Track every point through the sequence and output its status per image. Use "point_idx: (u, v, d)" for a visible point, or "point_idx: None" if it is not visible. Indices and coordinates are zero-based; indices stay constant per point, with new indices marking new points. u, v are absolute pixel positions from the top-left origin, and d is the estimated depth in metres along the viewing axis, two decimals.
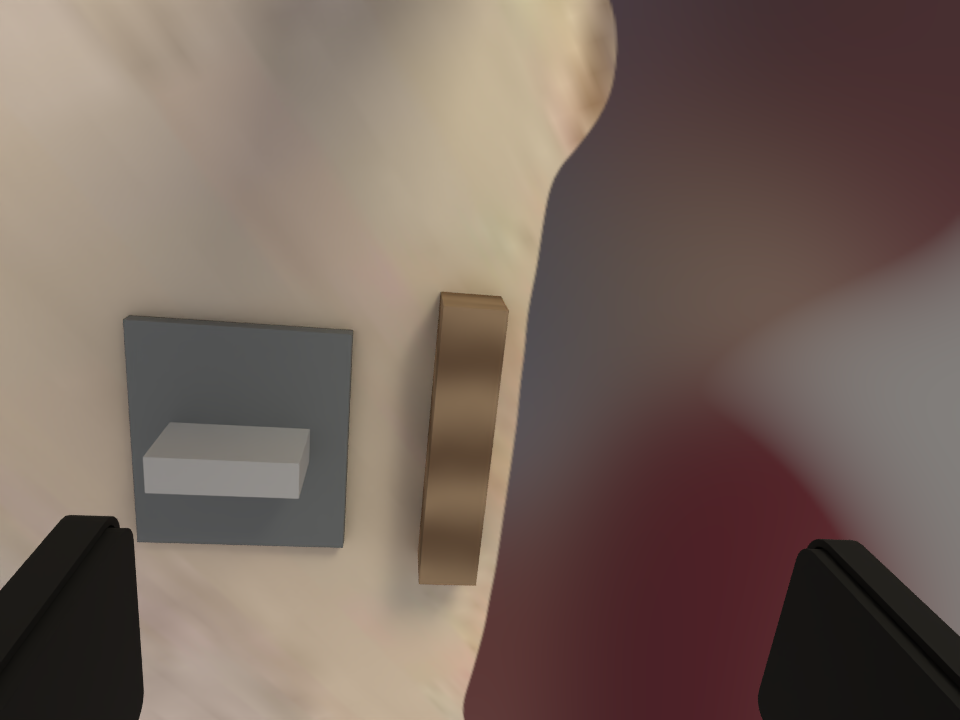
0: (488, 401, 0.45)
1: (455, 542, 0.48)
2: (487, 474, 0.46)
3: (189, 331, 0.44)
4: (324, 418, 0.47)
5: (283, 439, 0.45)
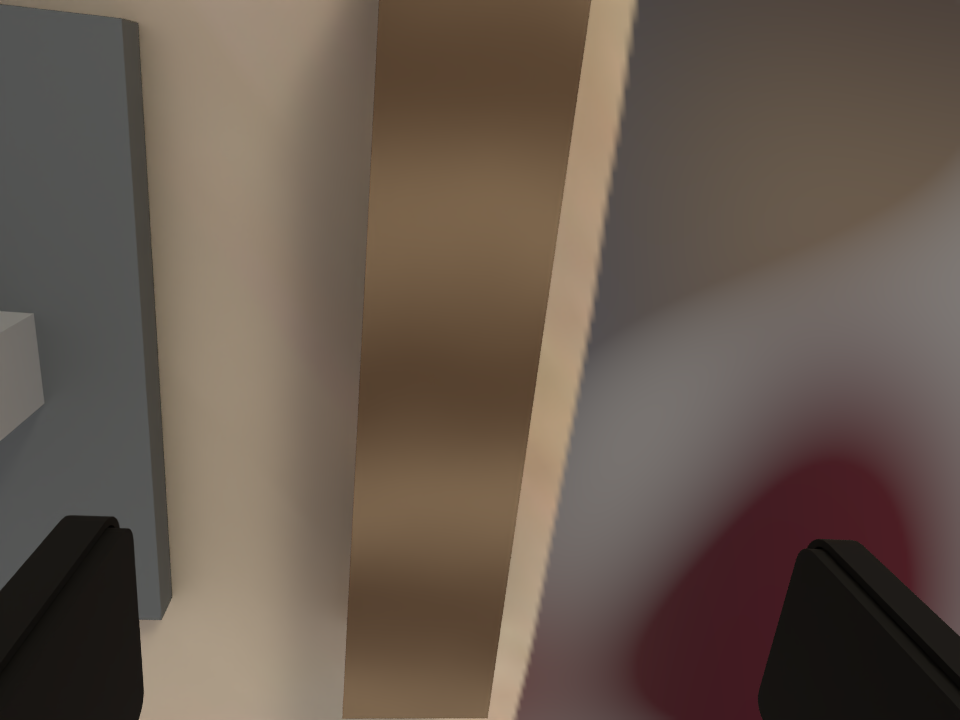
0: (531, 215, 0.15)
1: (434, 616, 0.18)
2: (523, 437, 0.17)
3: None
4: (70, 281, 0.17)
5: None
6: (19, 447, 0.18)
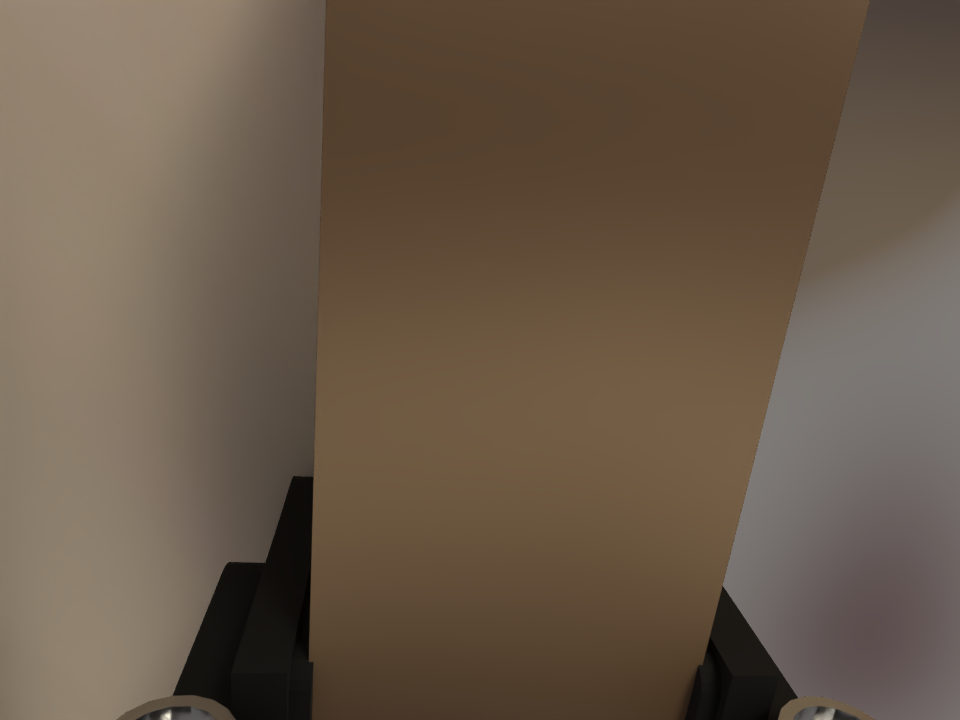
0: (697, 435, 0.06)
1: None
2: None
3: None
4: None
5: None
6: None
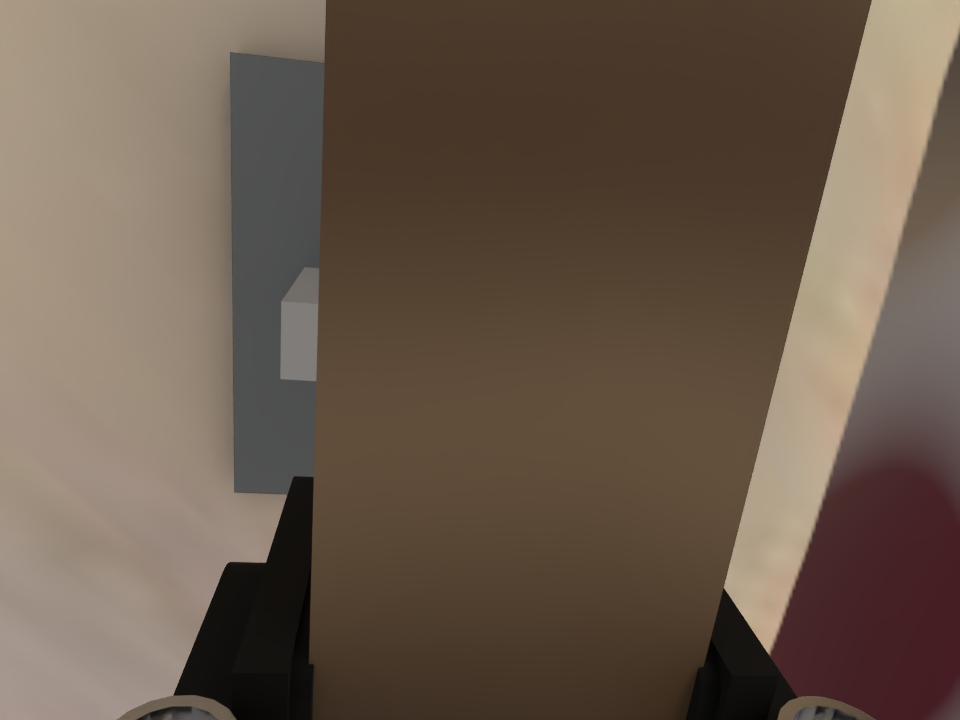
0: (695, 441, 0.06)
1: None
2: None
3: None
4: None
5: None
6: None
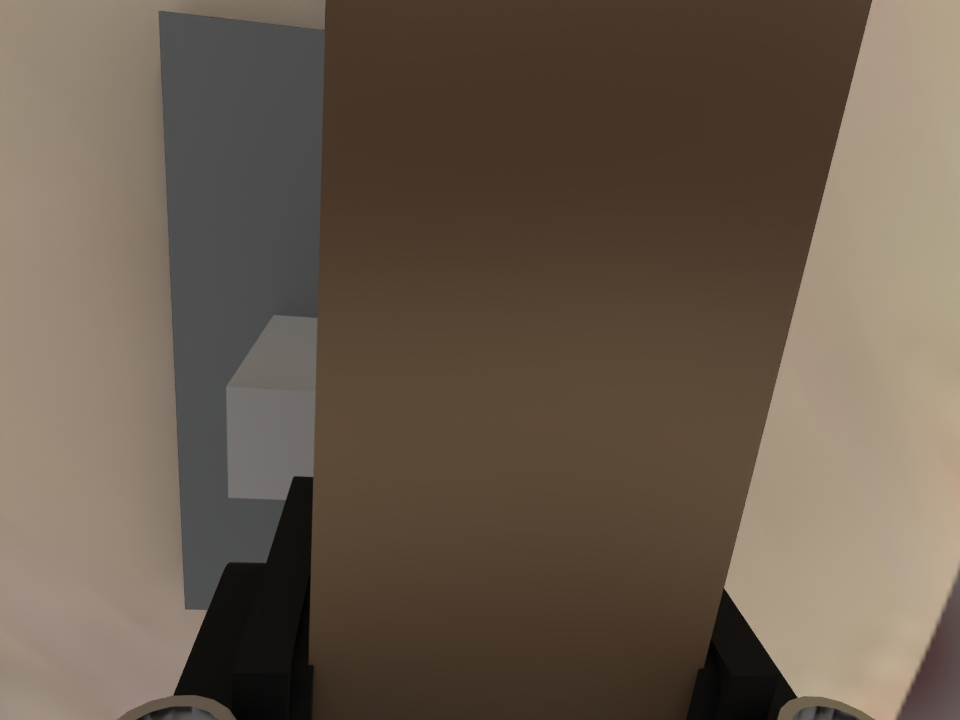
0: (696, 442, 0.06)
1: None
2: None
3: None
4: None
5: None
6: None
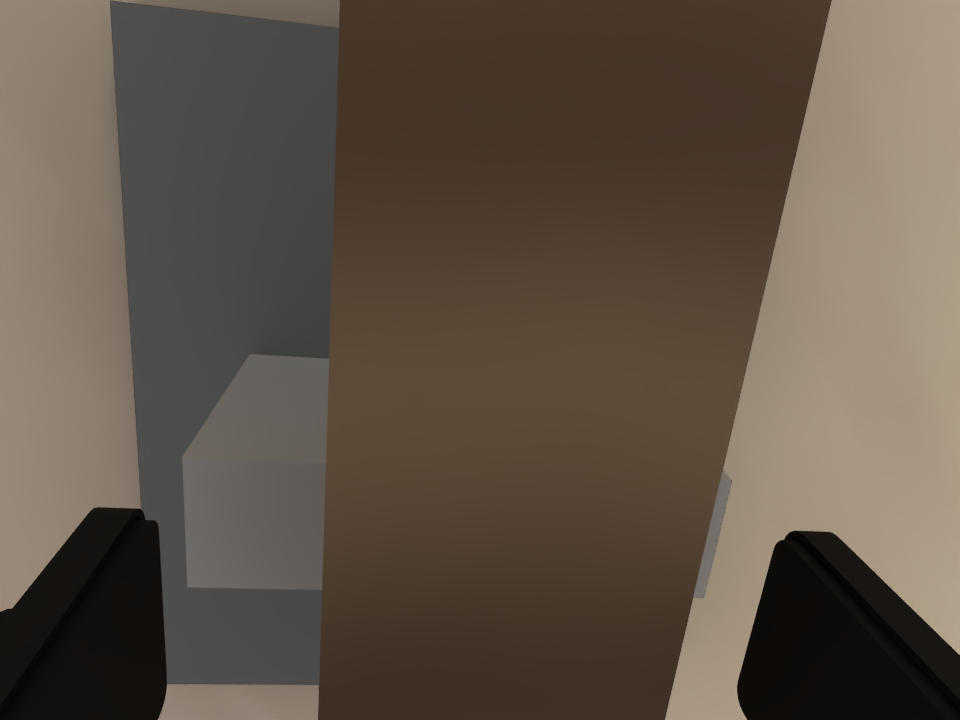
0: (679, 398, 0.07)
1: None
2: None
3: (324, 53, 0.14)
4: None
5: None
6: None
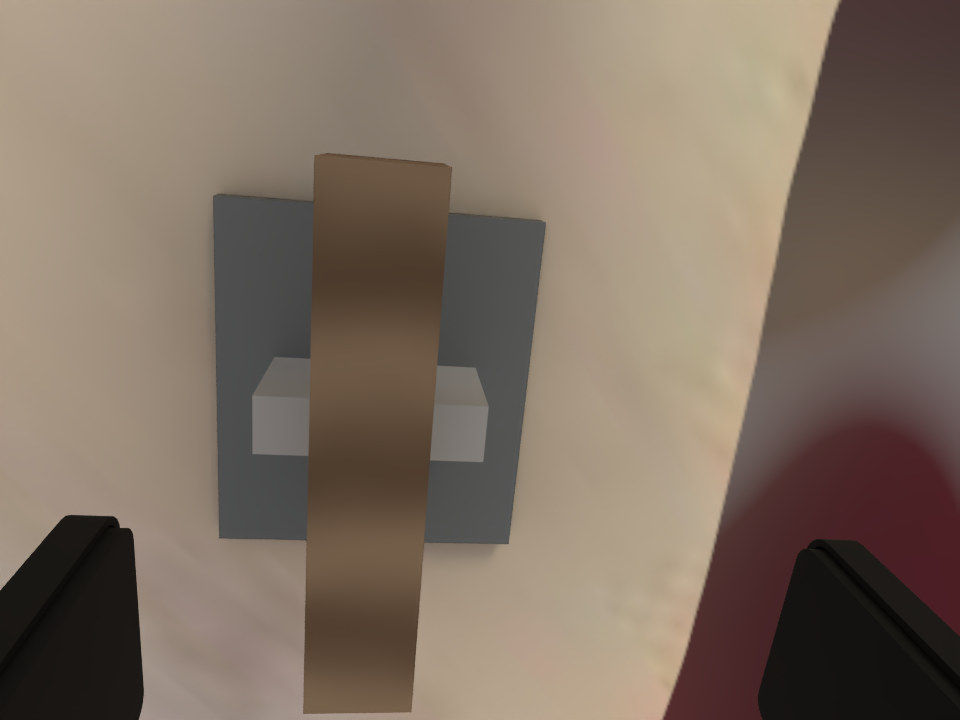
0: (418, 360, 0.22)
1: (368, 635, 0.25)
2: (423, 505, 0.24)
3: (310, 215, 0.29)
4: (497, 350, 0.32)
5: (446, 378, 0.30)
6: None
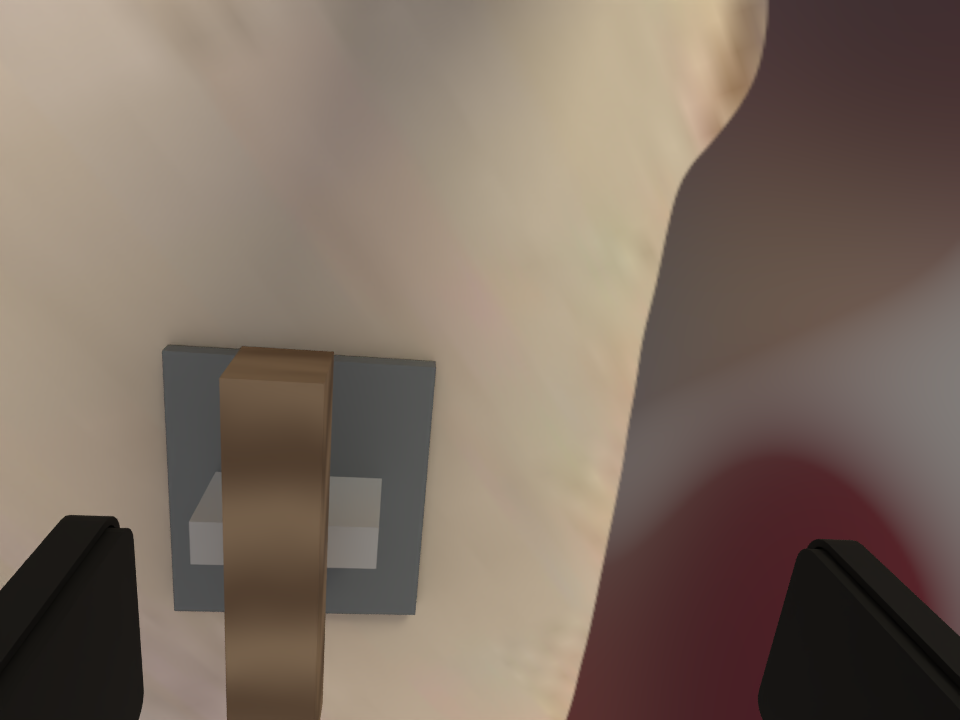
0: (305, 516, 0.30)
1: (276, 711, 0.33)
2: (315, 618, 0.31)
3: None
4: (399, 465, 0.39)
5: (353, 493, 0.37)
6: None
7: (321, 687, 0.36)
